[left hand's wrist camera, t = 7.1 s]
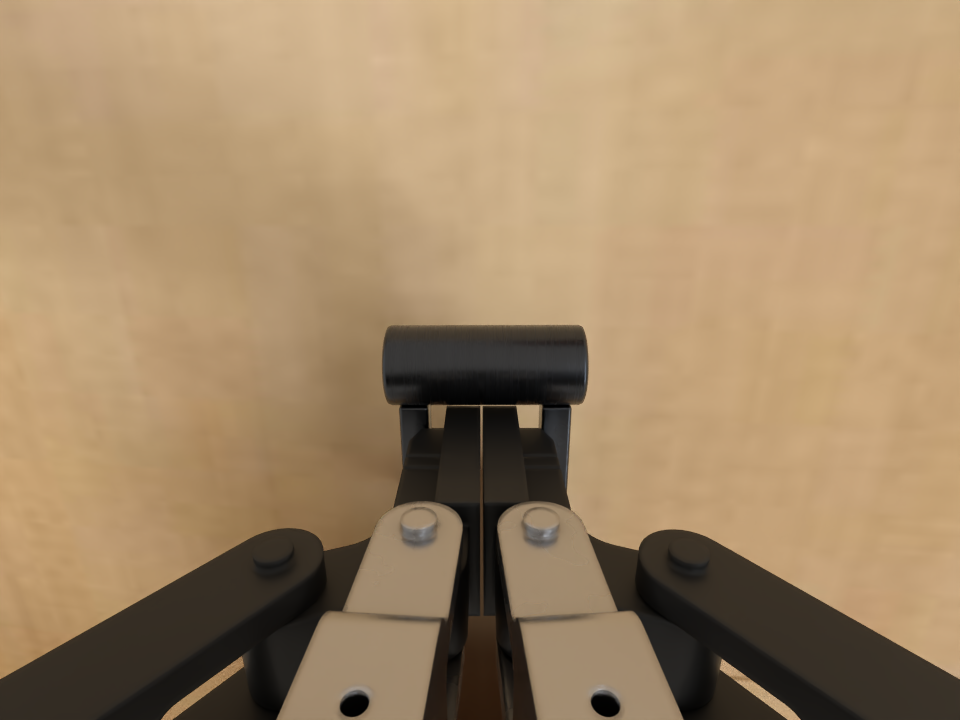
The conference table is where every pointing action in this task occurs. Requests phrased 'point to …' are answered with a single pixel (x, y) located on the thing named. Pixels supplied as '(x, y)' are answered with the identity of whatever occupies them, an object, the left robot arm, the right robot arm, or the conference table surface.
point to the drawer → (485, 381)
